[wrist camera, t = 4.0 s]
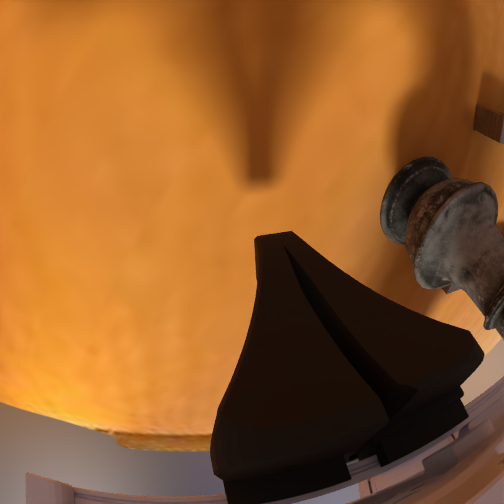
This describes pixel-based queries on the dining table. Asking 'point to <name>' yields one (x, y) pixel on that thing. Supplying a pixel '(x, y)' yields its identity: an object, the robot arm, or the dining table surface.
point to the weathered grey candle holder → (448, 233)
